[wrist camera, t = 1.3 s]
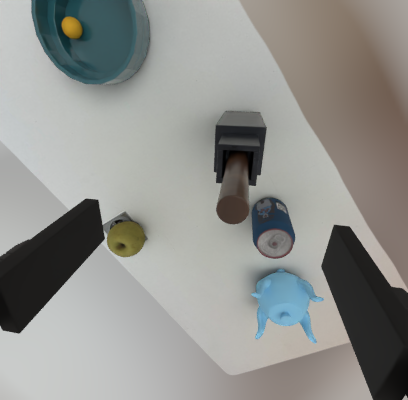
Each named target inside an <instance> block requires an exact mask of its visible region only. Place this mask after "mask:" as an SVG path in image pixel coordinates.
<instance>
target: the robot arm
mask: <svg viewBox="0 0 408 400" xmlns="http://www.w3.org/2000/svg"><path fill="white" fill-rule="evenodd" d="M104 239H105V237H104V231H103V225H102V219H101V214H100V208H99V202H98V200H95V199H85V200H83V201H82V202H81V203H79V204H78V205H77V206H75V207H74V208H73V209H71V210H70V211H69V212H67V213H66V214H64V215H63V216H62V217H60V218H59V219H58V220H56V221H55V222H53V223H52V224H51V225H49V226H48V227H47V228H45V229H44V230H43V231H41V232H40V233H38V234H37V235H36V236H34V237H33V238H32V239H30V240H27V241H24V242H22V243H20V244H18V245H16V246H14V247H13V248H12V249H10V250H9V251H7V252H6V254H3V255H2V256H0V326H1V328H2V330H4V331H9V332H14V333H20V332H21V331H22V330H23V329H24V328H25V327H26V326H27V325H28V323H29V322H30V321H31V320H32V319H33V318H34V317H35V316H36V314H38V312H39V311H40V310H41V309H42V308H43V307H44V306H45V305H46V303H47V302H48V301H49V300H50V299H51V298H52V297H53V296H54V294H56V292H57V291H58V290H59V289H60V288H61V287H62V286H63V285H64V283H65V282H66V281H67V280H68V279H69V278H70V277H71V276H72V275H73V273H74V272H75V271H76V270H77V269H78V268H79V267H80V266H81V265H82V264H83V263H84V261H85V260H86V259H87V258H88V257H89V256H90V255H91V254H92V253H93V251H94V250H95V249H96V248H97V247H98V246H99V245H100V244H101V243H102V241H103V240H104ZM321 267H322V269H323V272H324V275H325V277H326V280H327V282H328V285H329V287H330V290H331V293H332V295H333V298H334V300H335V303H336V305H337V308H338V311H339V313H340V316H341V318H342V321H343V323H344V326H345V329H346V331H347V334H348V336H349V339H350V341H351V344H352V346H353V349H354V351H355V354H356V357H357V359H358V362H359V365H360V367H361V370H362V372H363V375H364V377H365V380H366V383H367V385H368V387H369V390H370V393H371V395H372V398H373V400H402V399H403V398H404V396H405V395H406V396H407V398H408V293H407V292H406V291H405V290H404V289H402V288H395V287H391V286H390V284H389V283H388V282H387V280H386V279H385V277H384V276H383V274H382V273H381V271H380V270H379V268H378V267H377V266H376V264H375V263H374V261H373V260H372V258H371V257H370V255H369V254H368V252H367V251H366V250H365V248H364V247H363V245H362V244H361V242H360V241H359V239H358V238H357V236H356V235H355V234H354V232H353V231H352V229H351V228H350V227H349V226H340V225H334V227H333V230H332V233H331V236H330V240H329V243H328V246H327V249H326V253H325V256H324V259H323V263H322V266H321Z"/></svg>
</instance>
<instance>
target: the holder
mask: <svg viewBox="0 0 408 400" xmlns="http://www.w3.org/2000/svg"><path fill="white" fill-rule="evenodd" d="M265 135H266V126H265V123H264V121H263V119H262V116H261V114H260V112H239V111H225V113H224V114H223V116H222V117H221V119H220V120H219V121H218V123H217V124H216V132H215V158H214V172H217V174H216V177H217V178H216V183H222V181H223V177H224V173H225V169H226V164H227V160H228V156H229V152H230V150H231V151H248V179H249V185H251V186H256V180H257V175H261V167H262V159H263V151H264V143H265Z"/></svg>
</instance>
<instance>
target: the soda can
mask: <svg viewBox="0 0 408 400" xmlns="http://www.w3.org/2000/svg"><path fill="white" fill-rule="evenodd" d="M252 230H253V242H254V245H255V246H256V248H257V249H258V250H259V252H260V253H261V254H262V255H264V256H266V257H268V258H273V259H276V258H282V257H284V256H286V255H287V254H289V253H290V251H291V250H292V247H293V244H294V242H295V233H294V230H293V227H292V224H291V221H290V217H289V214H288V211H287V208H286V206H285V204H284V203H283V202H281V201H280V200H278V199H275V198H265V199H262V200H260V201H258V202H257V203H256V204H255V205H254V207H253V209H252Z"/></svg>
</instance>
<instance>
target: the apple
mask: <svg viewBox="0 0 408 400" xmlns="http://www.w3.org/2000/svg"><path fill="white" fill-rule="evenodd" d="M144 241H145V234H144V231H143V229H142V227H141V226H140V225H139V224H137V223H135V222H132V221H126V222H121V223H119V224H117V225H115V226H114V227H113V228H111V230H110V231H109V233H108V236H107V244H108V247H109V249H110V250H111V251H112V252H113V253H115V254H116V255H118V256H121V257H130V256H133V255H135V254H137V253H138V252H139V251H140V250H141V249H142V247H143V245H144Z"/></svg>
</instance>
